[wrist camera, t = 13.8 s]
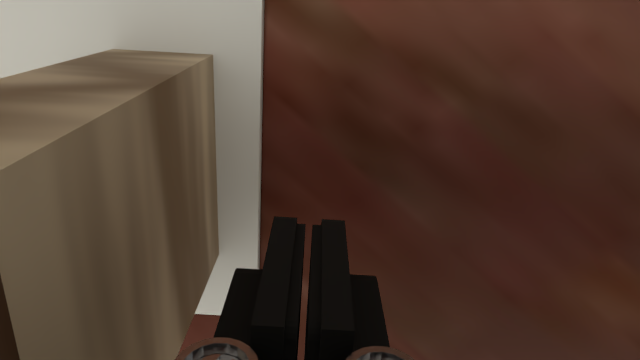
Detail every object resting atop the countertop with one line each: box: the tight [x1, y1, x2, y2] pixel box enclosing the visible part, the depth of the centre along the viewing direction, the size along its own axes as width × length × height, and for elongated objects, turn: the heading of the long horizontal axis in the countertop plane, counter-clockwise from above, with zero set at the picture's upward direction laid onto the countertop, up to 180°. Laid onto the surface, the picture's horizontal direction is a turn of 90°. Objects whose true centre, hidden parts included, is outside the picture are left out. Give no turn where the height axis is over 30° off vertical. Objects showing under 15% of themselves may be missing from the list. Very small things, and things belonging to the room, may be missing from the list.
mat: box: [0, 0, 264, 315], centre depth 18 cm, size 16×14×1 cm
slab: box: [0, 49, 219, 360], centre depth 12 cm, size 4×8×12 cm, turn 177°
